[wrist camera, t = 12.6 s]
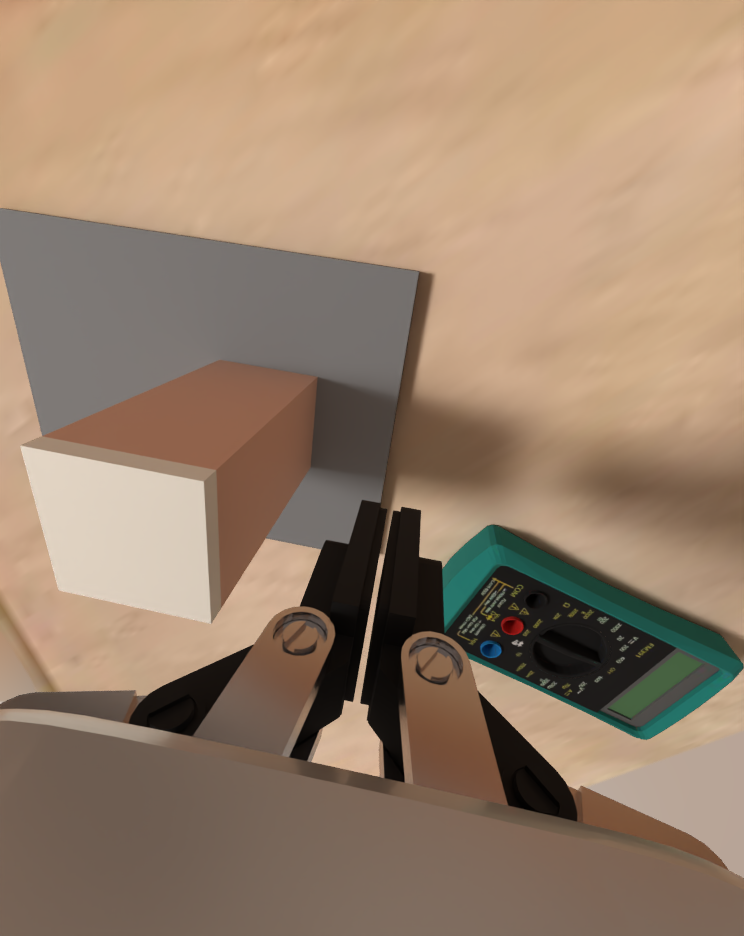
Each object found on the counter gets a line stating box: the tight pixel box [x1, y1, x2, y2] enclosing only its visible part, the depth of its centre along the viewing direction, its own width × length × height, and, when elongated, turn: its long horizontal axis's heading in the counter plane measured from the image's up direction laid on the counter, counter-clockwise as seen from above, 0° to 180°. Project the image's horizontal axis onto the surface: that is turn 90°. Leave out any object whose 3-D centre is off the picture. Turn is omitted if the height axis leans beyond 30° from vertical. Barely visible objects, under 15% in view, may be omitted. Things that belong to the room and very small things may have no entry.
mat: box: [0, 208, 419, 549], centre depth 20 cm, size 18×14×1 cm
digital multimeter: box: [442, 525, 744, 740], centre depth 22 cm, size 7×15×3 cm, turn 65°
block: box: [20, 360, 318, 624], centre depth 15 cm, size 4×4×10 cm
